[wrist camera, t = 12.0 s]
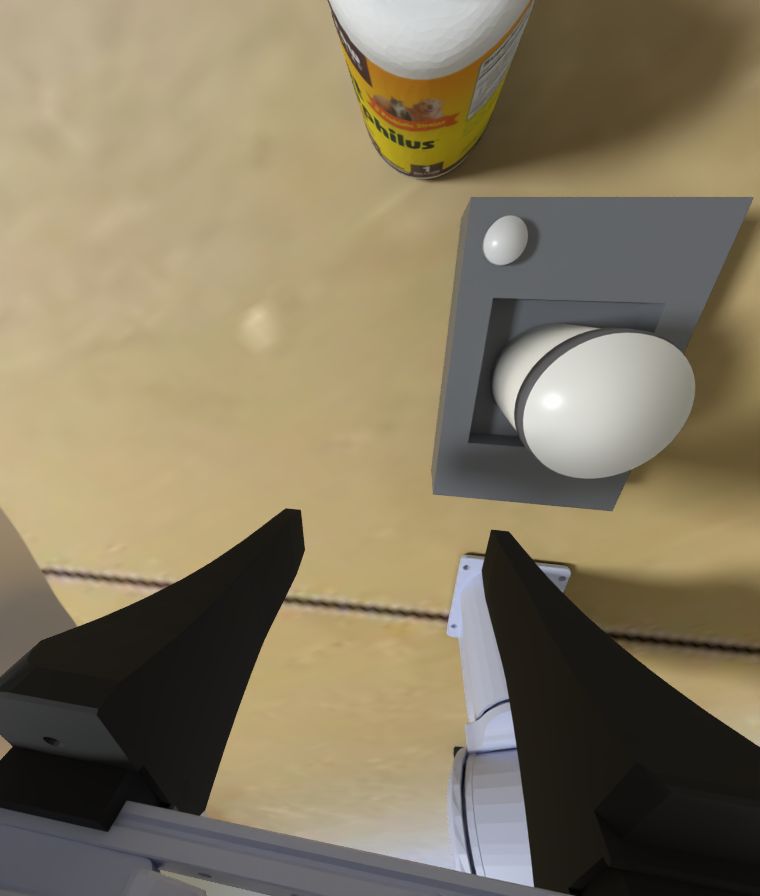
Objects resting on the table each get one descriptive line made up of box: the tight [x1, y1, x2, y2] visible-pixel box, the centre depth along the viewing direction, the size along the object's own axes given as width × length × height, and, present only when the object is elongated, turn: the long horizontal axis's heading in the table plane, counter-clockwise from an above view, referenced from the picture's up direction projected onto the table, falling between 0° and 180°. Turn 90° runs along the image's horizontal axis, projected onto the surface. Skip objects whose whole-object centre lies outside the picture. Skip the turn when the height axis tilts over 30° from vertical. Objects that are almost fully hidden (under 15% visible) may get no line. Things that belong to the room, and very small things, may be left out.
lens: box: [490, 323, 695, 479], centre depth 13 cm, size 5×5×6 cm
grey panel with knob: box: [431, 197, 754, 511], centre depth 15 cm, size 14×10×4 cm
